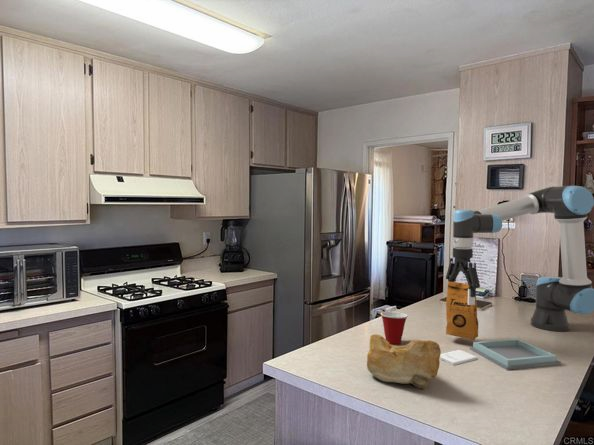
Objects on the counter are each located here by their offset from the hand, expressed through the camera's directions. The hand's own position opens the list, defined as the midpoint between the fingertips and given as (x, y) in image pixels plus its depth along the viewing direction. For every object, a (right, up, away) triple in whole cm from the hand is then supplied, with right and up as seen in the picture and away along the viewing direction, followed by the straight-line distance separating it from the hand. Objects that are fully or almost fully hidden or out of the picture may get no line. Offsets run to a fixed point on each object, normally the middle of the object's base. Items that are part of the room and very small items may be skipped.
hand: (461, 300), depth 166 cm
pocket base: (+13, -18, -14) cm, 27 cm away
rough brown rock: (-31, -19, -34) cm, 50 cm away
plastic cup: (-28, -17, 0) cm, 33 cm away
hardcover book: (+27, -15, +63) cm, 70 cm away
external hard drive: (-9, -19, -16) cm, 26 cm away
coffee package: (0, -15, 0) cm, 15 cm away
